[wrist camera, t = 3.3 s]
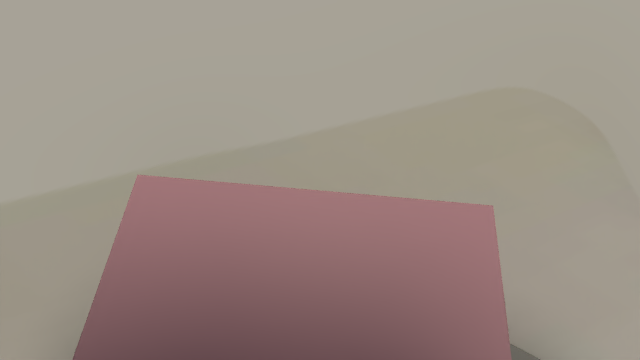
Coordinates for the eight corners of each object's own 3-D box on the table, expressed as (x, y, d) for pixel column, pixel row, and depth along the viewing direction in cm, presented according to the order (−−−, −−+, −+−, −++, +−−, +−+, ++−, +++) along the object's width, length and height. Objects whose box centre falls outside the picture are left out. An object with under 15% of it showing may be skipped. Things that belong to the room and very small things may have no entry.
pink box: (363, 394, 13) (570, 844, 2) (258, 381, 13) (-59, 728, 2) (367, 282, 15) (492, 202, 4) (275, 272, 15) (138, 171, 4)
